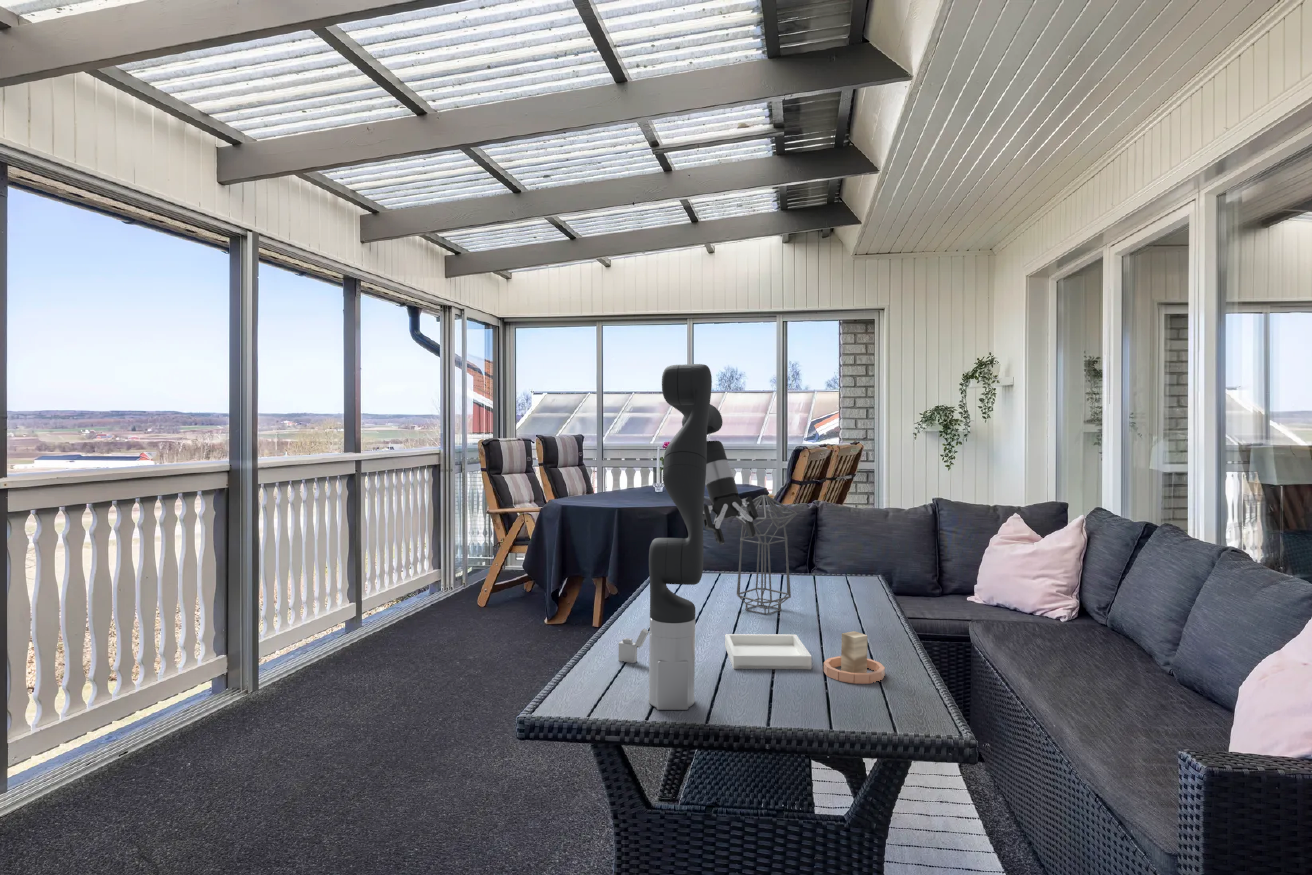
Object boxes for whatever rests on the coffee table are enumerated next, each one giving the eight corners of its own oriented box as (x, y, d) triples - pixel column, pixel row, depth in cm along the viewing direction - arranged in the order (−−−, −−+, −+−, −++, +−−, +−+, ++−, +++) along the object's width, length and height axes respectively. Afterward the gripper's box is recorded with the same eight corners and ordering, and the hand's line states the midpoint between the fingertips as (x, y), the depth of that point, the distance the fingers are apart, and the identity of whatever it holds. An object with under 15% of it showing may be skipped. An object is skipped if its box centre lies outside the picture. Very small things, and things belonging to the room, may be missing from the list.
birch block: (866, 674, 176) (867, 635, 175) (853, 677, 173) (854, 637, 173) (853, 669, 179) (854, 631, 179) (841, 672, 177) (841, 633, 177)
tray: (811, 669, 179) (811, 656, 179) (733, 668, 179) (733, 655, 179) (795, 646, 197) (796, 634, 197) (725, 645, 197) (725, 634, 197)
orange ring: (891, 683, 170) (891, 674, 170) (832, 683, 170) (832, 674, 170) (873, 664, 183) (873, 656, 183) (818, 664, 183) (818, 655, 183)
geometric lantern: (799, 610, 234) (801, 495, 232) (767, 621, 223) (768, 499, 221) (758, 600, 245) (759, 490, 243) (725, 610, 234) (726, 494, 232)
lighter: (618, 660, 184) (618, 627, 184) (621, 658, 185) (621, 625, 185) (646, 664, 181) (646, 630, 181) (648, 662, 183) (649, 628, 183)
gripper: (699, 481, 196) (717, 542, 191) (749, 471, 201) (768, 531, 196) (689, 489, 203) (707, 549, 198) (738, 480, 208) (756, 538, 203)
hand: (737, 540), depth 197 cm, fingers open, 8 cm apart
